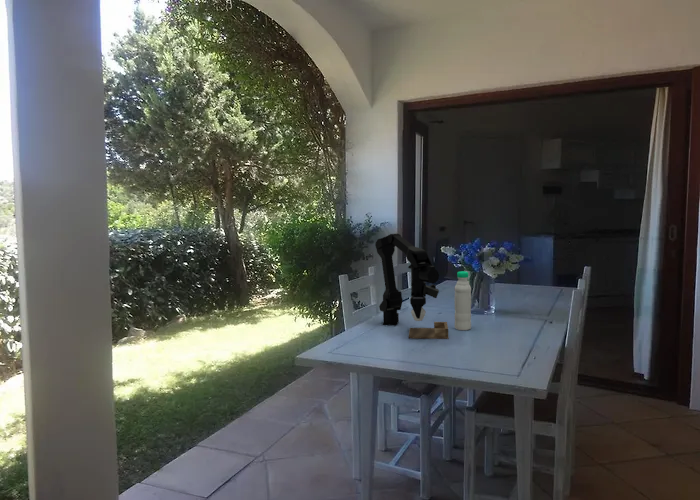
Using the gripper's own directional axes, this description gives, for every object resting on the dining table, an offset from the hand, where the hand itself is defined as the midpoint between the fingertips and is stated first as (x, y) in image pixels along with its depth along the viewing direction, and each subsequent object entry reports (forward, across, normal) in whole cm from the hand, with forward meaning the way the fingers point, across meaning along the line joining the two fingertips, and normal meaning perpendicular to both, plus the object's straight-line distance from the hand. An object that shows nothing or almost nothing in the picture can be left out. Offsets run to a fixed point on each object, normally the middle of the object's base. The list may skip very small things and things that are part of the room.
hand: (418, 316), depth 206 cm
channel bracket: (+7, 0, -4) cm, 8 cm away
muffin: (+2, 0, 0) cm, 2 cm away
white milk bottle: (+8, +10, -19) cm, 23 cm away
